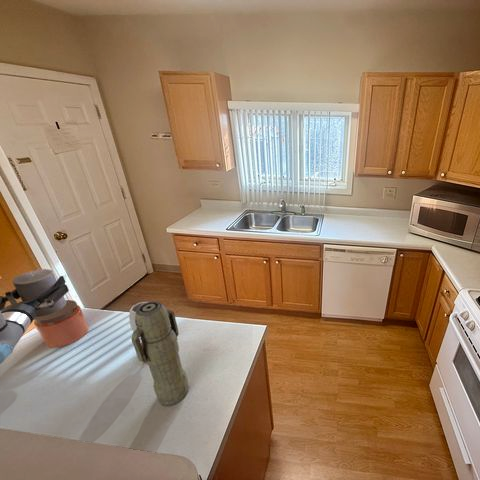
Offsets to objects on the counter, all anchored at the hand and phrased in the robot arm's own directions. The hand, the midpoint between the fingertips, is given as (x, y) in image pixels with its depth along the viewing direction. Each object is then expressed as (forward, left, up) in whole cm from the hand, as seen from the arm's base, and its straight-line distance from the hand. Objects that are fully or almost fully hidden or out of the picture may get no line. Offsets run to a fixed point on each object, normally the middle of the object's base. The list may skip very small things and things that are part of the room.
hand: (44, 282), depth 92 cm
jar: (-1, +1, -26) cm, 26 cm away
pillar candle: (+1, -4, -9) cm, 10 cm away
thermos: (+47, -34, -26) cm, 64 cm away
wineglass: (+35, -14, -26) cm, 46 cm away
